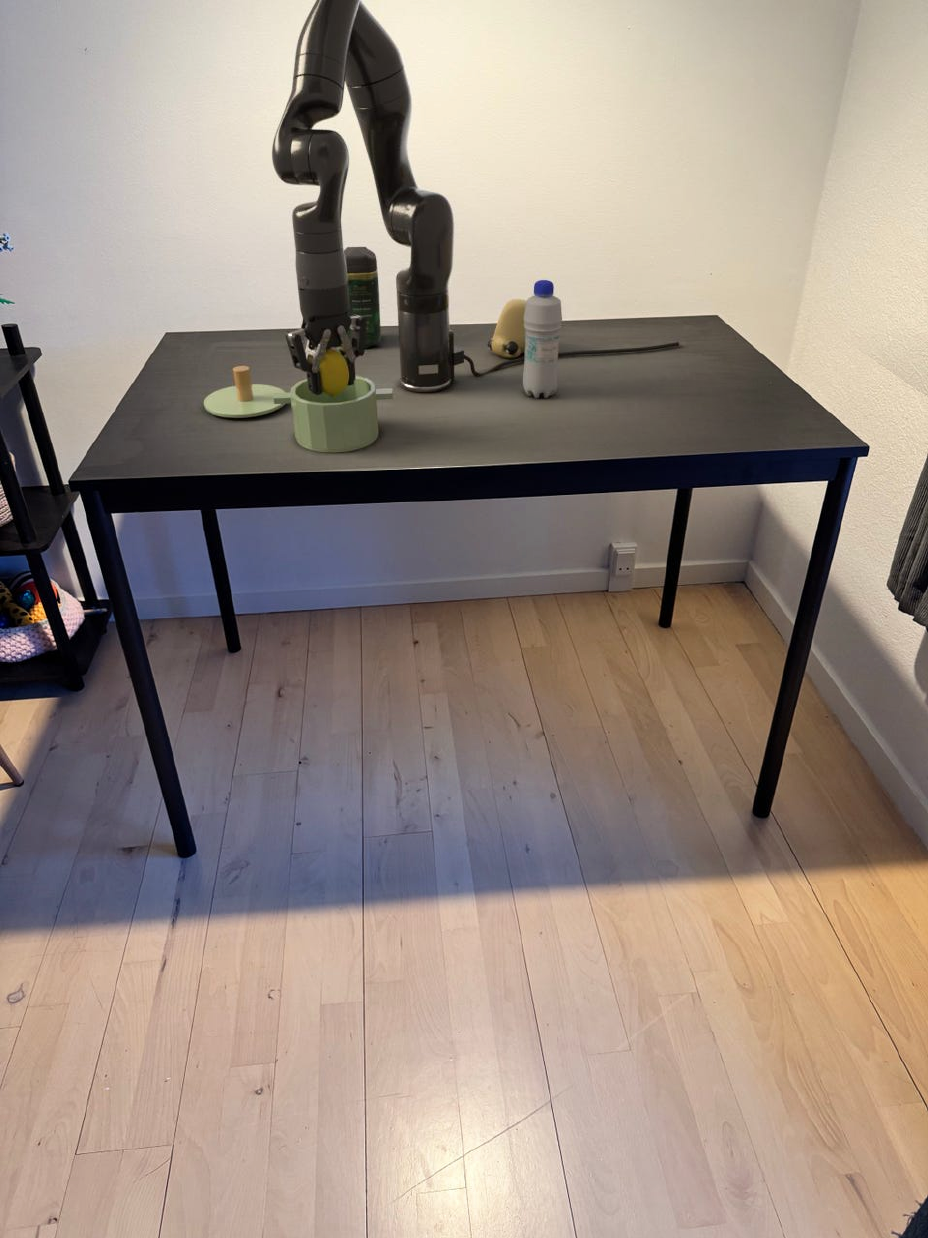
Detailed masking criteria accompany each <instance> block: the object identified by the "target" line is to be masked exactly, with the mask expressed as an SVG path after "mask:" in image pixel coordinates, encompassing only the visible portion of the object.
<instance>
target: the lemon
mask: <svg viewBox="0 0 928 1238" xmlns="http://www.w3.org/2000/svg"><path fill="white" fill-rule="evenodd" d="M318 372H320V375H321V385H322V392H324V393H325V394H328V395H330V396H331V397H332V398H335V397H336V396H337V395H338V394H339V393H341V392H343V391H344V390H345V388H346V387H347V384H348V381H349V370H348V366H347V363H346V360H345V358H344V357H343V356H342V355H341V354H340V353H339V352H338V350H335V349H332V348H330V349H328V350H326V351H325V355H324V358H323V359H321V363H320V367H319V371H318Z"/></svg>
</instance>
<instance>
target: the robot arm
mask: <svg viewBox="0 0 928 1238" xmlns="http://www.w3.org/2000/svg"><path fill="white" fill-rule="evenodd" d="M309 11H310V12H309V13H308V15H307V17H306V19H305V20H304V24H303V25H302V28H301V31H300V33H299V36H298V40H297V43H296V49H295V56H294V63H293V64H294V65H293V74H292V84H291V92H290V95H289V97H288V99H287V103H286V105H285V107H284V108H285V109H284V111H283V114H282V116H281V119H280V122H279V124H278V127H277V129H276V132H275V134H274V138H273V141H272V147H271V160H272V161H271V162H272V166H273V169H274V171H275V174H276V175H277V177H278V178H279V179H280V180H281V181H282V182H283V183H285V184H286V185H287V184H288V185H293V186H309V187H311V186H312V187H319V194H318V197H317V199H316V200H313V201H310V202H305V203H301V204H298V205H297V206H295V207H294V208H293V210H292V214H291V216H292V217H291V220H292V229H293V230H292V233H293V239H294V240H293V241H294V250H295V262H294V263H295V264H294V265H295V272H296V275H295V276H296V284H297V292H298V301H299V311H300V314H301V317H302V322H301V325H300V328H299V329H296V330H294V331H291V330H287V331H285V334H284V335H285V339H286V340H285V341H286V343H287V347H288V351H289V354H290V357H291V361H292V364H293V367H294V368H295V369H299V370H300V371H302V372H304V373H306V379H307V381H308V388H309V390H310V391H311V392H312V393H313V394H315V395H321V394H322V385H321V375H320V372H318V371H319V367H320V363H321V359H323V358H324V355H325V351H326V350H328V349H330V348H331V349H332V348H335V349H336V351H337V352H339V353H340V354H341V355H342V356H343V357H344V358H345V360H346V363H347V366H348V370H349V381H348V384H347V385H348V386H350V385H353V384H354V381H355V375H356V365H355V362H356V361H357V358H359V357H362V356H364V355H365V352H366V351H365V350H366V348H365V339H366V325H367V320H366V318H364V317H361V316H358V315H356V314H354V315H353V316H352V317H350V315H349V313H348V311H349V309H350V305H349V292H348V280H347V267H346V260H345V255H344V250H345V249H344V240H343V239H344V238H343V226H342V215H343V214H342V213H343V203H344V196H345V195H344V194H345V189H346V184H347V179H348V175H349V174H348V173H349V167H350V151H349V147H348V145H347V143H346V141H345V139H344V137H343V136H342V135H341V134H340V132H338V131H336V130H332V129H319V128H318V129H315V128H314V127H315V126H316V125H317V124H318V123H322V122H323V121H326V120H329V119H333V118H335V117H337V116H338V115H339V114H340V113H341V111H342V108H343V102H344V93H345V85H346V89H347V92H348V96H349V99H350V102H351V105H352V108H353V111H354V114H355V117H356V120H357V122H358V126H359V129H360V133H361V136H362V139H363V143H364V146H365V150H366V153H367V157H368V159H369V164H370V166H371V170H372V175H373V178H374V184H375V188H376V189H375V190H376V193H377V194H376V195H377V199H378V204H379V208H380V212H381V218H382V221H383V224H384V225H383V226H384V227H385V230H386V232H387V234H388V235H389V237H390V238H391V239H392V240H393V241H394V242H395V243H397V244H398V245H401V246H403V247H408V248H410V264H409V267H405V268H403V269H401V270H399V271H398V272H397V274H396V277H395V286H396V305H397V323H398V324H397V325H398V327H397V328H398V345H399V346H398V347H399V366H400V367H399V368H400V379H399V381H400V386H401V387H402V388H403V389H405V390H407V391H410V392H415V393H433V392H440V391H442V390H445V389H447V388H449V387H451V384H452V383H455V366H458V365H461V364H465V360H466V361H467V363H469V367H470V372H471V373H472V375H473V376H475V377H482V376H484V375H488V374H491V373H493V372H496V371H497V370H498V369H500V368H503V367H505V366H509V365H514V364H518V363H522V362H525V356H523V357H519V358H513V359H510V360H507V361H503V362H500V363H497V364H496V365H495V366H493V367H492V368H491V369H489V370H487V371H486V372H478V371H476V369H475V364H474V363H475V362H474V361H473V359H472V358H471V357H469V356H468V355H466V354H465V350H464V349H462V348H459V347H456V346H455V333H454V331H453V330H451V329H450V287H449V284H450V279H451V276H452V272H453V269H454V245H455V218H454V212H453V208H452V205H451V203H450V201H449V199H448V198H447V197H446V196H445V195H443V194H441V193H439V192H436V191H432V190H426V189H420V188H419V186H418V184H417V182H416V178H415V176H414V172H413V168H412V165H411V162H410V157H409V151H408V150H409V149H408V141H409V134H410V128H411V121H412V112H413V99H412V93H411V87H410V84H409V80H408V77H407V73H406V69H405V65H404V61H403V57H402V55H401V52H400V50H399V47H398V46H397V44H396V43H395V41H394V40H393V39H392V36H390V35H389V33H388V32H387V31H386V29H385V28H384V27H383V26H382V24H381V23H380V22H379V21H378V19H377V18H376V17H375V16H374V15H373V14H372V13H371V11H370V10H369V9H368V8H367V7H366V5H365V4H364V3H363V1H362V0H315V2H314V4H313V6H312V7H311V10H309ZM349 327H350V329H351V335H350V341H349V339H348V337H347V335H346V334H347V332H348V330H349ZM305 338H306V339H307V340H306V341H307V342H305ZM305 343H306V345H305ZM304 345H305V347H304ZM678 346H680V342H679V341H675V342H669V343H663V344H658V345H651V346H643V347H631V348H629V347H628V348H627V347H626V348H612V349H593V350H591V349H589V350H575V351H573V350H572V351H561V352H558V357H567V356H569V357H570V356H583V355H584V356H585V355H604V354H605V355H607V354H621V353H636V352H647V351H656V350H661V349H666V348H668V349H669V348H674V347H678Z"/></svg>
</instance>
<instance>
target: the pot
mask: <svg viewBox="0 0 928 1238" xmlns="http://www.w3.org/2000/svg"><path fill="white" fill-rule="evenodd" d="M285 392H286V391H285ZM393 399H394V393H393V388H392V387H389V388H388V387H387V388H376V384H375V382H373V380H370V378H367V377H363V376H361V375H357V374H355V381H354V384H353V385H350V386H348V385H347V387H346V388H345V390H344V391H343V392H341V393H339V394H338V395H337V396H336V397H335V398H332V397H331V396H330V395H328V394H325V393H324V392H322V394H321V395H315V394H313V393H312V392H311V391H310V390H309V388H308V381H307V378H305V379H303V380H300V381H298V382H296V383H295V384H294V385H293V386H291V388H290V392H288V391H287V392H286V393H275V394H274V404H285V405H286V404H287V405H288V404H289V405H290V406H291V411H292V412H291V413H292V422H293V429H294V437H295V440H296V442H297V444H299V445H300V447H302V448H305V449H307V450H310V451H314V452H318V453H319V452H320V453H330V454H331V453H334V454H335V453H345V452H352V451H356V450H360V449H363V448H365V447H368V446H369V445H371V444H374V442H375V441H376V440H377V439H378V438H379V432H380V431H379V418H378V404H377V402H378V401H381V400H382V401H383V400H384V401H385V400H393Z"/></svg>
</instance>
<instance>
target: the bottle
mask: <svg viewBox="0 0 928 1238" xmlns="http://www.w3.org/2000/svg"><path fill="white" fill-rule="evenodd" d="M554 288H555V286H554V283H553V281H551V280H548V279H539V280H537V281H535V283H534V285H533V295H531V296H530V297H528V298H527V299H526V308H525V314H524V328H525V330H526V332H525V353H524V357H525V361H523V362H524V363H523V370H522V371H523V372H522V373H523V374H522V387H523V390H524V393H525V394H526V396H528V397H531V396H532V395H533V397H534V398H535V399H539V397H540V394H543V398H544V399H546V398H549V396H553V395H554V394H555V393H556V391H557V388H558V381H559V379H558V378H559V375H558V369H559V367H558V363H559V362H558V359H559V356H558V353H559V343H560V330H561V328H562V322H563V314H562V312H563V311H562V301H561V299H560V298H559V297H557V296H555V295H554V290H555V289H554Z"/></svg>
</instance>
